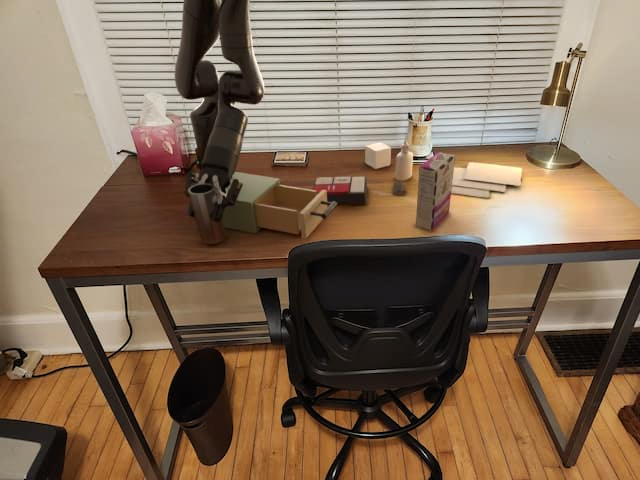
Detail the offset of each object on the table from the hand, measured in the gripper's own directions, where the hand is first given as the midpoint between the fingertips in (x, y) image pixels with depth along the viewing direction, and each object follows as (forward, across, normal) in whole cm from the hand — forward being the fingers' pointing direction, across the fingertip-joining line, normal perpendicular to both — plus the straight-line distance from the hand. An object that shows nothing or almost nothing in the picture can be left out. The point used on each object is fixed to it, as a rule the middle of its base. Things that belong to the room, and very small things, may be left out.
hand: (203, 218), depth 101 cm
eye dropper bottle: (-32, +34, +43) cm, 63 cm away
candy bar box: (-15, +48, +26) cm, 57 cm away
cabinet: (-6, -1, +16) cm, 17 cm away
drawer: (-6, +16, +16) cm, 23 cm away
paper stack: (-36, +56, +47) cm, 81 cm away
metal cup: (+3, 0, +6) cm, 6 cm away
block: (-25, +35, +36) cm, 56 cm away
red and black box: (-19, +20, +30) cm, 41 cm away
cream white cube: (-38, +23, +48) cm, 65 cm away
